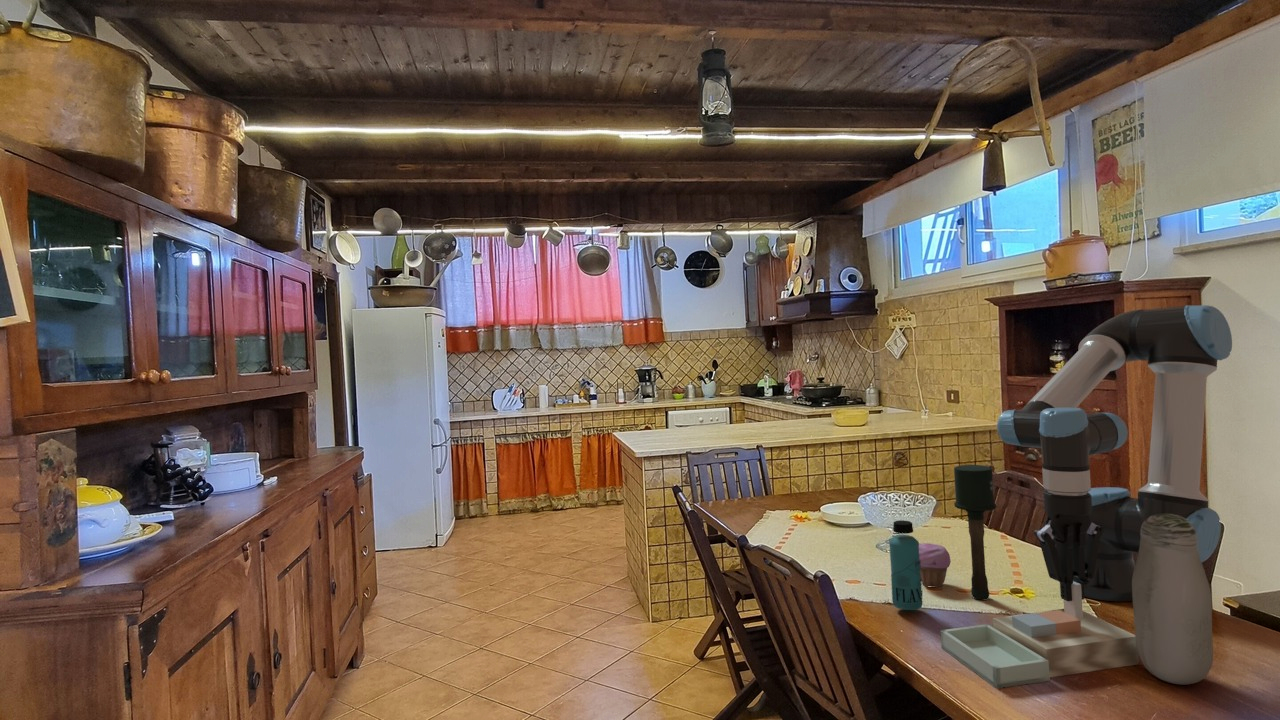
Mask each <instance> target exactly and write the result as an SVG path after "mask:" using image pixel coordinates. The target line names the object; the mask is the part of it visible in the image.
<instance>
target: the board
mask: <svg viewBox="0 0 1280 720" xmlns="http://www.w3.org/2000/svg"><path fill="white" fill-rule="evenodd" d="M1056 610H1060V611H1063V612H1064V608H1060V609H1059V608H1058V609H1051V610H1043V611H1037V612H1028V613H1027V614H1033V613H1041V612H1048V611H1056ZM1025 614H1026V613H1020V614H1014V615H1005V616H998V617H993V618H992V627H993V628H995V629H996V630H998V631H1000V632H1001V633H1003V634H1005V635H1006V636H1008V637H1010V638H1011V639H1013V640H1015V641H1016V642H1018V643H1020V644H1021V645H1023V646H1025V647H1026V648H1028V649H1030V650H1031V651H1033V652H1035V653H1036V654H1038V655H1040V656H1041V657H1043V658H1045V659H1046V660H1048V661H1049V678H1055V677H1062V676H1070V675H1076V674H1081V673H1082V674H1083V673H1089V672H1090V673H1091V672H1095V671H1102V670H1103V671H1104V670H1109V669H1115V668H1122V667H1123V668H1124V667H1128V666H1135V665H1140V662H1139V661H1140V660H1139V659H1140V657H1139V654H1138V650H1137V646H1136V638H1135V634H1133V633H1131V632H1129V631H1127V630H1125V629H1123V628H1121V627H1118V626H1116V625H1114V624H1113V623H1110V622H1108V621H1105V620H1104V619H1101V618H1100V617H1097V616H1095V615H1093V614H1091V613H1088V612H1086V611H1084V610H1083V619H1081V631H1078V632H1071V633H1064V634H1056V635H1049V636H1041V637H1034V638H1031V637H1030V636H1028V635H1026V634H1024V633H1023V632H1021V631H1019V630H1017V629H1015V628H1014V627H1012V616H1018V615H1025Z"/></svg>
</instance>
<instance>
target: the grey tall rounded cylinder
mask: <svg viewBox="0 0 1280 720" xmlns="http://www.w3.org/2000/svg"><path fill="white" fill-rule="evenodd" d="M1140 536H1141V540H1140V547H1139V553H1137V554H1138V555H1137V559H1136V560H1135V561H1136V562H1135V568H1134V572H1133V577H1132V598H1133V601H1132V607H1133V622H1134V633H1135V634H1134V635H1135V638H1136V646H1137V650H1138V657H1139V659H1140V661H1141V663H1142V664H1143V666H1144V667H1145V668H1146V670H1147V671H1148V672H1149V673H1150V674H1151V675H1153V676H1154V677H1156V678H1158V679H1160V680H1161V681H1164V682H1167V683H1170V684H1175V685H1183V686H1185V685H1191V684H1196V683H1199V682H1200V681H1201V682H1202V680H1204V678H1206V677H1207V676H1208V674H1209V673H1210V671H1211V669H1212V666H1213V661H1214V643H1213V642H1214V640H1213V609H1212V608H1213V607H1212V605H1213V604H1212V593H1211V587H1210V584H1209V580H1208V577H1207V575H1206V571H1205V568H1204V566H1203V562H1201V560H1200V555H1199V550H1198V542H1197V535H1196V532H1195V529H1194V527H1193V526H1192V524H1191V523H1190V522H1189V521H1188V520H1187V519H1185V518H1183V517H1181V516H1179V515H1176V514H1157V515H1153V516H1150V517H1148V518H1147V519H1146V520H1145V521H1144V522H1143V524H1142V526H1141V531H1140Z"/></svg>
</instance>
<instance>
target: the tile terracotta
mask: <svg viewBox="0 0 1280 720" xmlns="http://www.w3.org/2000/svg"><path fill="white" fill-rule="evenodd" d="M1055 610H1056V611H1050V610H1047V611H1048V612H1043V611H1040V612H1041V613H1036V614H1038V615H1040V616H1042V617H1044V618H1046V619H1048V620H1050V621H1052V622H1054V623H1056V634H1064V633H1071V632H1078V631H1081V620H1079V619H1077V618H1075V617H1073V616H1071V615H1069V614H1067V613H1064V612H1063V611H1060V610H1058V609H1055Z"/></svg>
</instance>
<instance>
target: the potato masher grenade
mask: <svg viewBox="0 0 1280 720" xmlns="http://www.w3.org/2000/svg"><path fill="white" fill-rule="evenodd" d="M953 472H954V473H953V475H954V476H953V477H954V492H955V494H954V495H955V502H954V505H953V506H954V507H955V508H957V509H960V510H963V511H965V512H966V513H967V520H968V521H967V523H968V525H967V526H968V534H969V537H970V538H969V539H970V551H971V568H972V569H971V570H972V573H971V574H972V575H971V591H970V593H971V596H972V598H973V597H974V599H975V598H976V599H975V600H977V599H987V600H988V599H989V596H990V591H989V582H988V577H987V574H986V562H985V561H986V559H985V558H986V557H985V543H984V541H985V540H984V537H985V521H984V520H985V517H984V516H985V515H984V513H985V512H988V511H992V510H995V509H996V508H997V505H996V503H995V495H994V493H995V492H994V477H993V469H992V467H990V466H987V465H983V464H982V465H980V464H962V465H961V464H960V465H957V466H955V467H953Z"/></svg>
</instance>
